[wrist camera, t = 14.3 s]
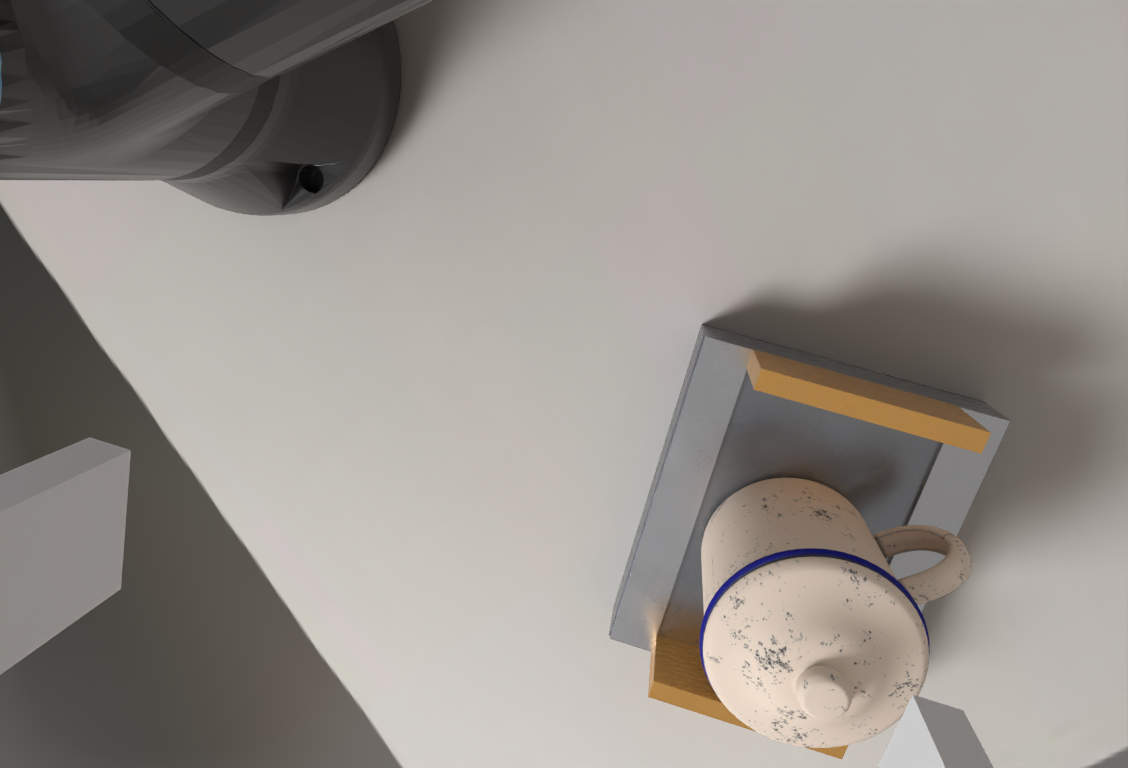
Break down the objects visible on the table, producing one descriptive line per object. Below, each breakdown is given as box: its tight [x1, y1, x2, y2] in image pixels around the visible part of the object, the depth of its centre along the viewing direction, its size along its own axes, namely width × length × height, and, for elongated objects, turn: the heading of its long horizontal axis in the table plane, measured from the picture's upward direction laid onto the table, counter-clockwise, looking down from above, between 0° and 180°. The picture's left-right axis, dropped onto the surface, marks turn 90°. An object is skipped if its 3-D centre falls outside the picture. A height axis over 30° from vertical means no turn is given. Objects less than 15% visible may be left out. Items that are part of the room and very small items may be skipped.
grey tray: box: [609, 324, 1010, 759], centre depth 37 cm, size 15×18×7 cm
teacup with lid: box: [700, 478, 972, 748], centre depth 32 cm, size 12×9×12 cm
